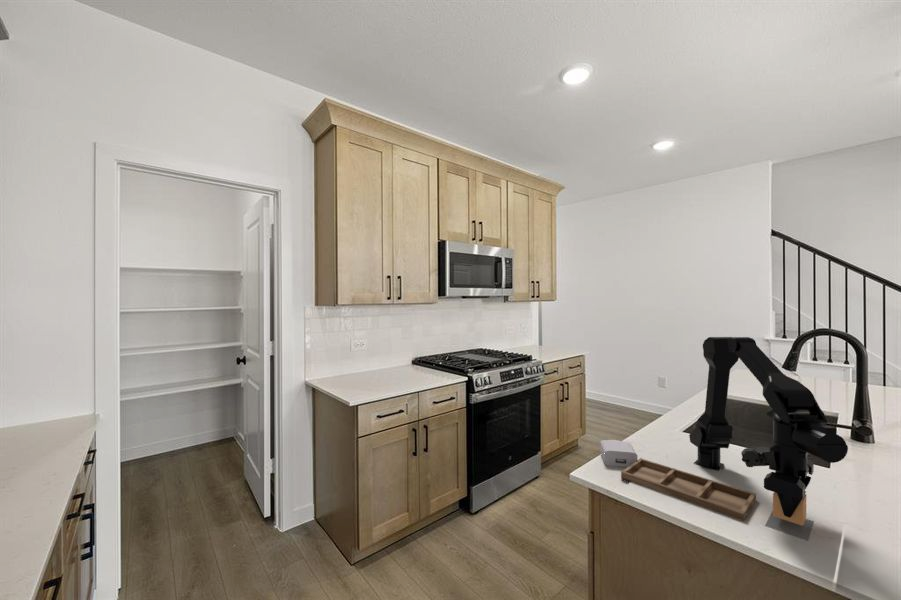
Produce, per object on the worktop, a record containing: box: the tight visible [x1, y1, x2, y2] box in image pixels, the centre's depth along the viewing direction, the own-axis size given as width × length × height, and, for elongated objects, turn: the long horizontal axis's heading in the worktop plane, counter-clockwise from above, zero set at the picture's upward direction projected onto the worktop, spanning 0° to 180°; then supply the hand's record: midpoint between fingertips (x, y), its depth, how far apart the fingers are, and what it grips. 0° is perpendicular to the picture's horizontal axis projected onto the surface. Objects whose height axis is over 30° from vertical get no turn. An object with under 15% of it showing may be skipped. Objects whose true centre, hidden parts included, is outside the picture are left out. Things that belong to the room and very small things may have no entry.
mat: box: [764, 510, 815, 542], centre depth 86 cm, size 10×7×1 cm
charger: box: [599, 439, 638, 468], centre depth 123 cm, size 5×9×15 cm
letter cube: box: [772, 492, 807, 526], centre depth 86 cm, size 5×5×5 cm
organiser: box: [620, 458, 757, 522], centre depth 101 cm, size 13×28×2 cm, turn 41°
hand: (789, 511), depth 86 cm, fingers closed on letter cube, 5 cm apart
